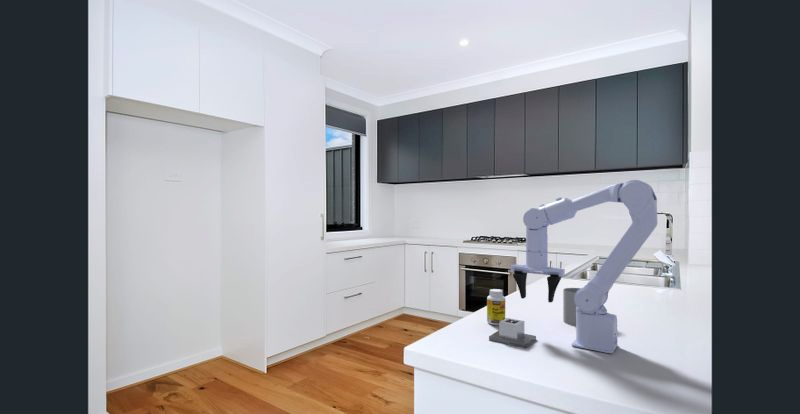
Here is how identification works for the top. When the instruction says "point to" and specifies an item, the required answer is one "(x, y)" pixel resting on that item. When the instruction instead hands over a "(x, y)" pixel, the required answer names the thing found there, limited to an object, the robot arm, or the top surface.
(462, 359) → the top surface
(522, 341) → the block
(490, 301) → the supplement bottle
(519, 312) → the top surface
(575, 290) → the cup
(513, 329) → the square hole block
